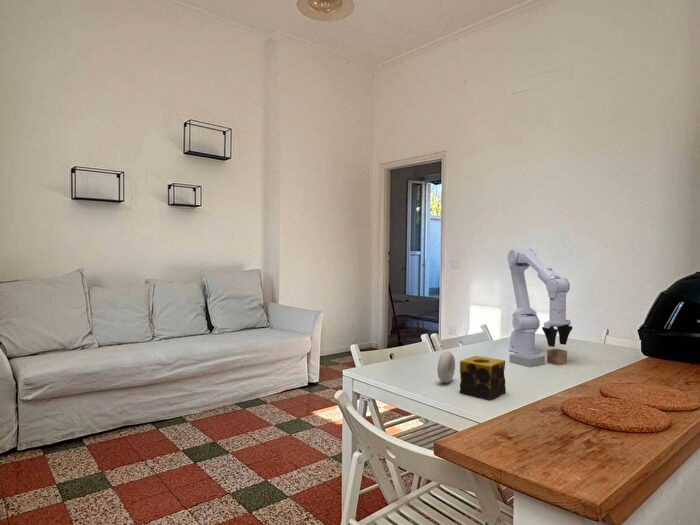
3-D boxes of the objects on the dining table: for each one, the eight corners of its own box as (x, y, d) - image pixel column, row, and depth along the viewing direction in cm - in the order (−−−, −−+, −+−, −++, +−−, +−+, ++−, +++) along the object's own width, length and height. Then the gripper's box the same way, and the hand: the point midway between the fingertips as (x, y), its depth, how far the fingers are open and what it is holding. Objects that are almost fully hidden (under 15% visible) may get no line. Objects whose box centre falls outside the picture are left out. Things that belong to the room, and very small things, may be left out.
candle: (506, 393, 137) (506, 360, 137) (491, 401, 129) (491, 366, 129) (475, 386, 144) (475, 354, 144) (458, 393, 136) (459, 360, 136)
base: (509, 362, 176) (509, 354, 175) (524, 359, 181) (524, 351, 180) (530, 367, 168) (530, 359, 168) (544, 364, 173) (544, 356, 173)
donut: (445, 387, 143) (446, 355, 142) (435, 385, 144) (435, 353, 144) (456, 379, 151) (456, 349, 151) (446, 378, 153) (446, 348, 153)
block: (546, 362, 176) (547, 349, 175) (554, 361, 178) (554, 348, 178) (559, 365, 171) (559, 352, 171) (566, 363, 174) (566, 350, 174)
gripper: (556, 312, 167) (555, 349, 167) (578, 309, 175) (577, 345, 175) (539, 310, 173) (538, 346, 173) (561, 307, 181) (560, 342, 181)
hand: (557, 345), depth 175 cm, fingers open, 7 cm apart
